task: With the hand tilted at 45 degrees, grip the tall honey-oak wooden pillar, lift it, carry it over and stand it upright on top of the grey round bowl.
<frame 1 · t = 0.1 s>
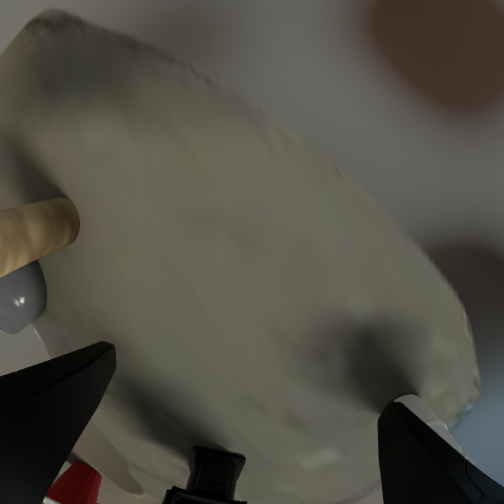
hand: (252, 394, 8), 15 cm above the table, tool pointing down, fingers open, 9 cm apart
grey round bowl: (18, 278, 25), on the table
oak pillar: (62, 221, 23), on the table
plastic cup: (89, 470, 37), on the table
soft serve ice cream cone: (402, 406, 26), on the table
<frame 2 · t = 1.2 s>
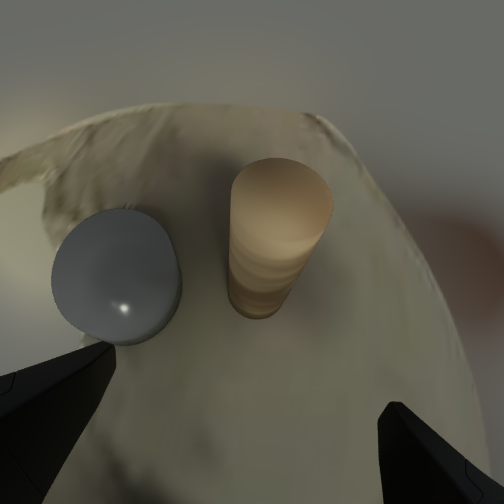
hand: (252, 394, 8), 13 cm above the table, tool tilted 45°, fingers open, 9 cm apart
grey round bowl: (124, 286, 23), on the table
oak pillar: (256, 292, 24), on the table
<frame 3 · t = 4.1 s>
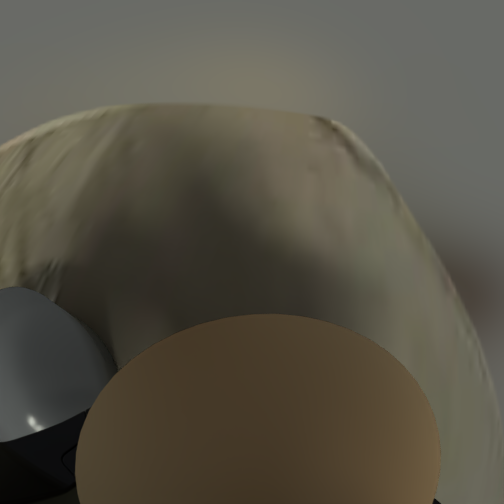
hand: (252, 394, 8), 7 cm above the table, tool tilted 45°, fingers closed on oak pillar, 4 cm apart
grey round bowl: (48, 391, 13), on the table
oak pillar: (236, 419, 13), on the table, touching gripper
when the fingers open (12 cm above the table, at t = 7.0 s): oak pillar drops 1 cm, resting on grey round bowl.
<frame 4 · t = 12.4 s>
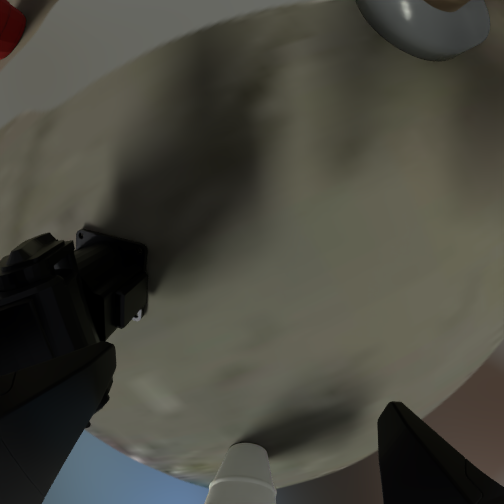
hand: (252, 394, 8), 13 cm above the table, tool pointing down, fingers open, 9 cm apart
grey round bowl: (413, 7, 14), on the table
plastic cup: (10, 38, 16), on the table
soft serve ice cream cone: (248, 451, 27), on the table
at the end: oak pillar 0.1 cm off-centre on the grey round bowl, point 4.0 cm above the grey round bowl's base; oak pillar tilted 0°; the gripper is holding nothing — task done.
